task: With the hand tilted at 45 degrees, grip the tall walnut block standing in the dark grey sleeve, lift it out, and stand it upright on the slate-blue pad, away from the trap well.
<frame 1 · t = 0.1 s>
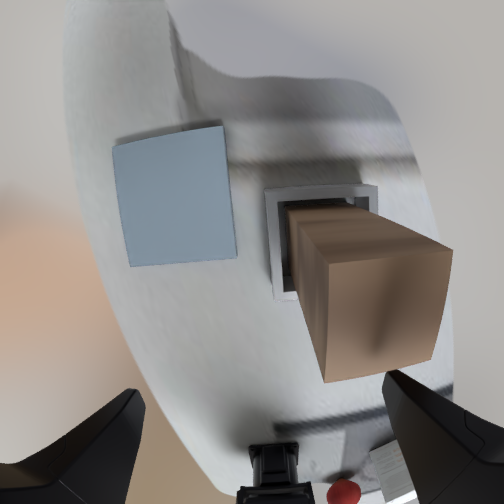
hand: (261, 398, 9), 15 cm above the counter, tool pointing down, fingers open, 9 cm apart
onion: (340, 478, 34), on the counter
sleeve: (317, 235, 22), on the counter
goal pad: (174, 198, 21), on the counter
small box: (393, 446, 32), on the counter
walnut block: (342, 262, 16), in the sleeve
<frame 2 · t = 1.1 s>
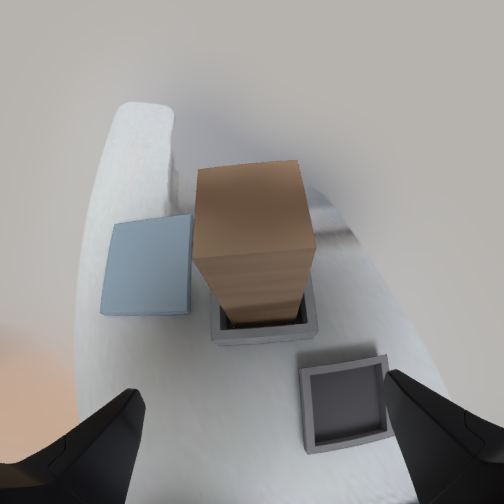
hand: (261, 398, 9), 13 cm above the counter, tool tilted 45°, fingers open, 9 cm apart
sleeve: (262, 298, 24), on the counter
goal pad: (148, 266, 27), on the counter
trap well: (344, 404, 19), on the counter
walnut block: (258, 266, 18), in the sleeve
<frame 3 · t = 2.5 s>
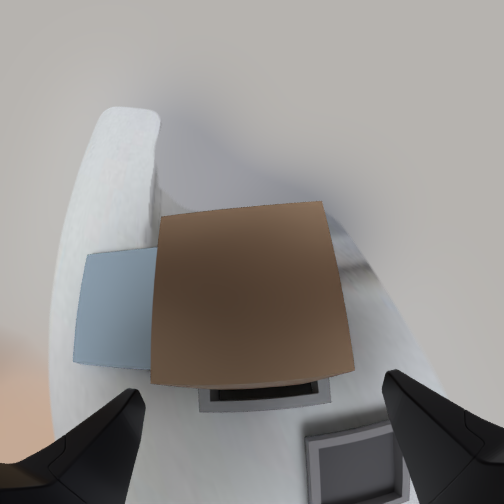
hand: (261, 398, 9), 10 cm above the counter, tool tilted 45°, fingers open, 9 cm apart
sleeve: (262, 354, 19), on the counter
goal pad: (125, 308, 21), on the counter
trap well: (355, 470, 14), on the counter
walnut block: (257, 336, 13), in the sleeve
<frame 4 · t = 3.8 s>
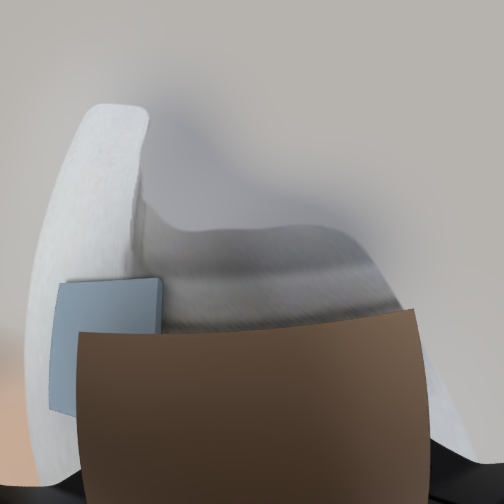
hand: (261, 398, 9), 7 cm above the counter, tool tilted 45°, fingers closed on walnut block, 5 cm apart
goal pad: (103, 352, 16), on the counter
walnut block: (264, 433, 8), in the sleeve, touching gripper
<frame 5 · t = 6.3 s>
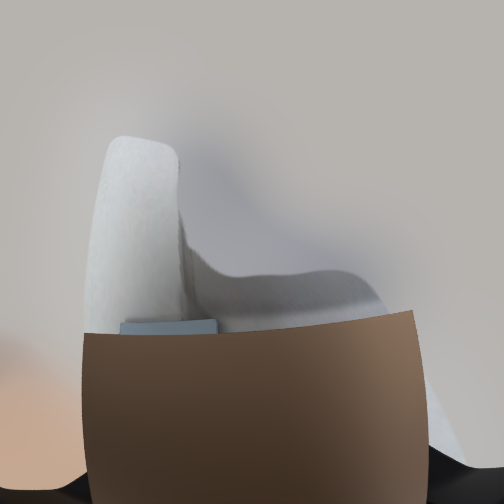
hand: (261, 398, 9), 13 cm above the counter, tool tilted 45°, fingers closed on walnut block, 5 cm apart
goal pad: (169, 379, 21), on the counter
walnut block: (265, 433, 8), point 13 cm above the counter, touching gripper
when the fingers open (9 cm above the counter, at t = 8.3 s): walnut block stays where it is, resting on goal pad.
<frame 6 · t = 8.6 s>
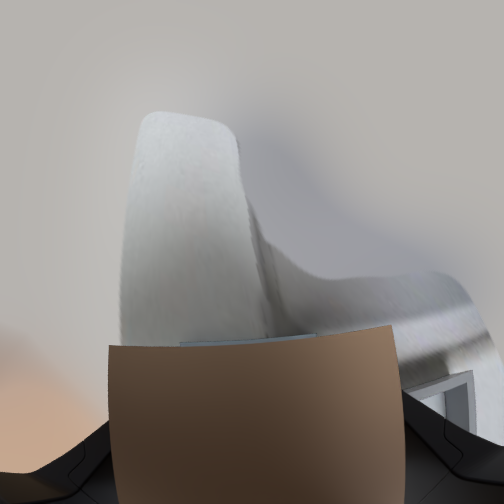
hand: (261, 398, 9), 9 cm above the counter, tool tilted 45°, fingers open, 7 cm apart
sleeve: (412, 438, 14), on the counter
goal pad: (252, 413, 16), on the counter
walnut block: (265, 430, 9), on the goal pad, point 8 cm above the counter
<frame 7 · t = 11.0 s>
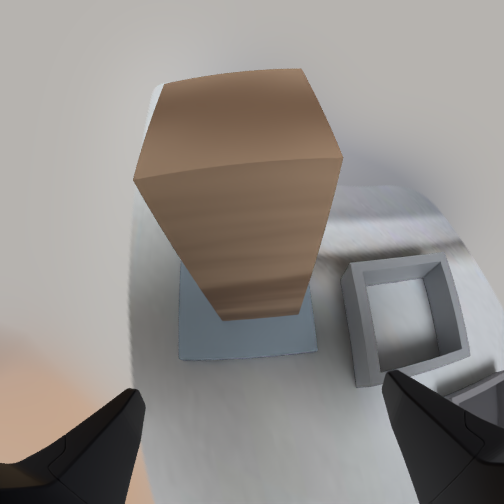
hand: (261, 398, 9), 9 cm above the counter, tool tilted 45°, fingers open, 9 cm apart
sleeve: (398, 323, 18), on the counter
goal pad: (244, 288, 20), on the counter
trap well: (472, 424, 13), on the counter
walnut block: (250, 230, 13), on the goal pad, point 8 cm above the counter
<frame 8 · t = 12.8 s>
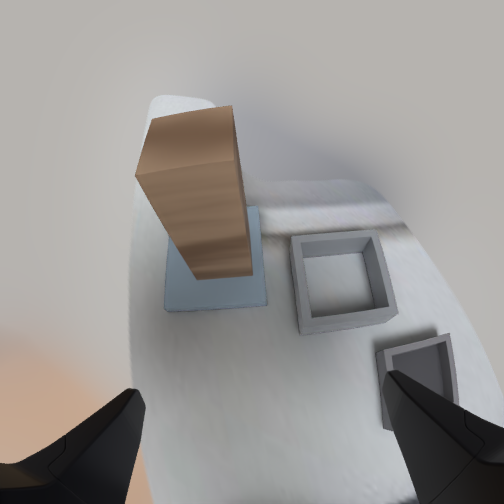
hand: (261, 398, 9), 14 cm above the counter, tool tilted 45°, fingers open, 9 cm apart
sleeve: (337, 287, 24), on the counter
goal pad: (215, 258, 27), on the counter
trap well: (414, 382, 20), on the counter
walnut block: (209, 208, 20), on the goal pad, point 8 cm above the counter
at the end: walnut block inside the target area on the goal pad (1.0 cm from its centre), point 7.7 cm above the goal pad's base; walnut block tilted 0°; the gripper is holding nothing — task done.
